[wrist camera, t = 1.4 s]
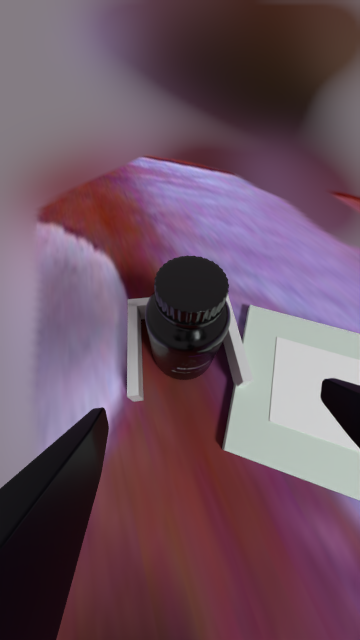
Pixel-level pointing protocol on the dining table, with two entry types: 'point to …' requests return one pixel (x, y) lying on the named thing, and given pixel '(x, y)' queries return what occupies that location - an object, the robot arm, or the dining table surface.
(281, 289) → the dining table surface
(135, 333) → the holster
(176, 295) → the supplement bottle
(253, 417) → the docking plate
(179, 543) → the dining table surface
